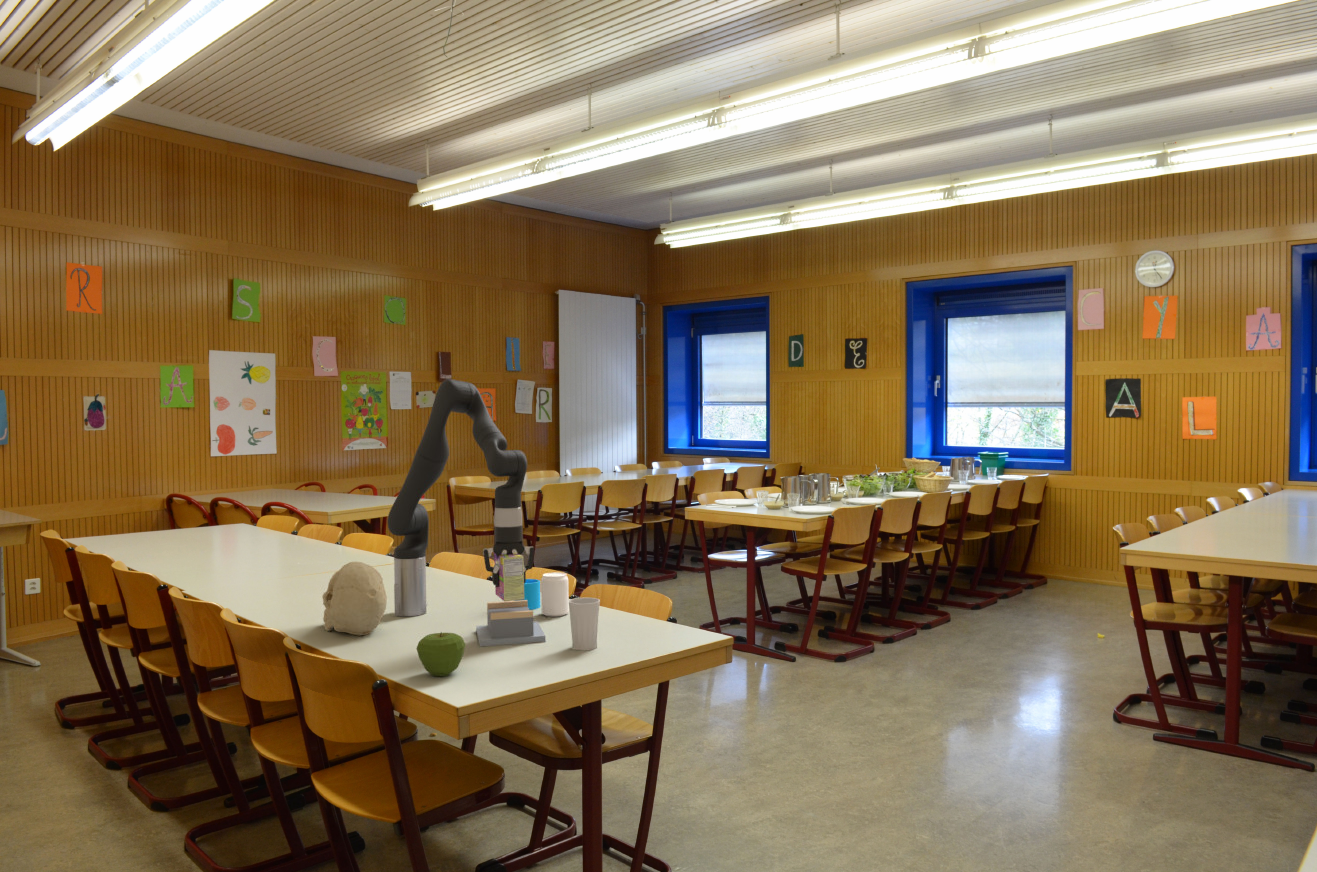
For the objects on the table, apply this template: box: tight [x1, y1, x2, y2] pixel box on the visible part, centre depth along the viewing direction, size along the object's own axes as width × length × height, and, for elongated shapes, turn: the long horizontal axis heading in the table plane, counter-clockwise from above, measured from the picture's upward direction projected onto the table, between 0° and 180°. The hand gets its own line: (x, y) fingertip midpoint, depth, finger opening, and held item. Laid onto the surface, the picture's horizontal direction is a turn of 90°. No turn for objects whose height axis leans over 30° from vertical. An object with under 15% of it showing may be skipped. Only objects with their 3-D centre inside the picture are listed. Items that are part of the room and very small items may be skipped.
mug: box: [514, 578, 541, 611], centre depth 276 cm, size 12×8×8 cm
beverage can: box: [540, 571, 570, 617], centre depth 265 cm, size 8×8×12 cm
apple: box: [415, 631, 466, 677], centre depth 204 cm, size 11×10×10 cm
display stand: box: [475, 600, 547, 647], centre depth 239 cm, size 17×17×8 cm
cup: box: [569, 597, 601, 651], centre depth 227 cm, size 8×8×12 cm
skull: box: [322, 561, 388, 636], centre depth 247 cm, size 15×26×20 cm, turn 44°
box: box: [493, 552, 525, 602], centre depth 239 cm, size 10×6×12 cm, turn 23°
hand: (509, 585), depth 239 cm, fingers closed on box, 6 cm apart
